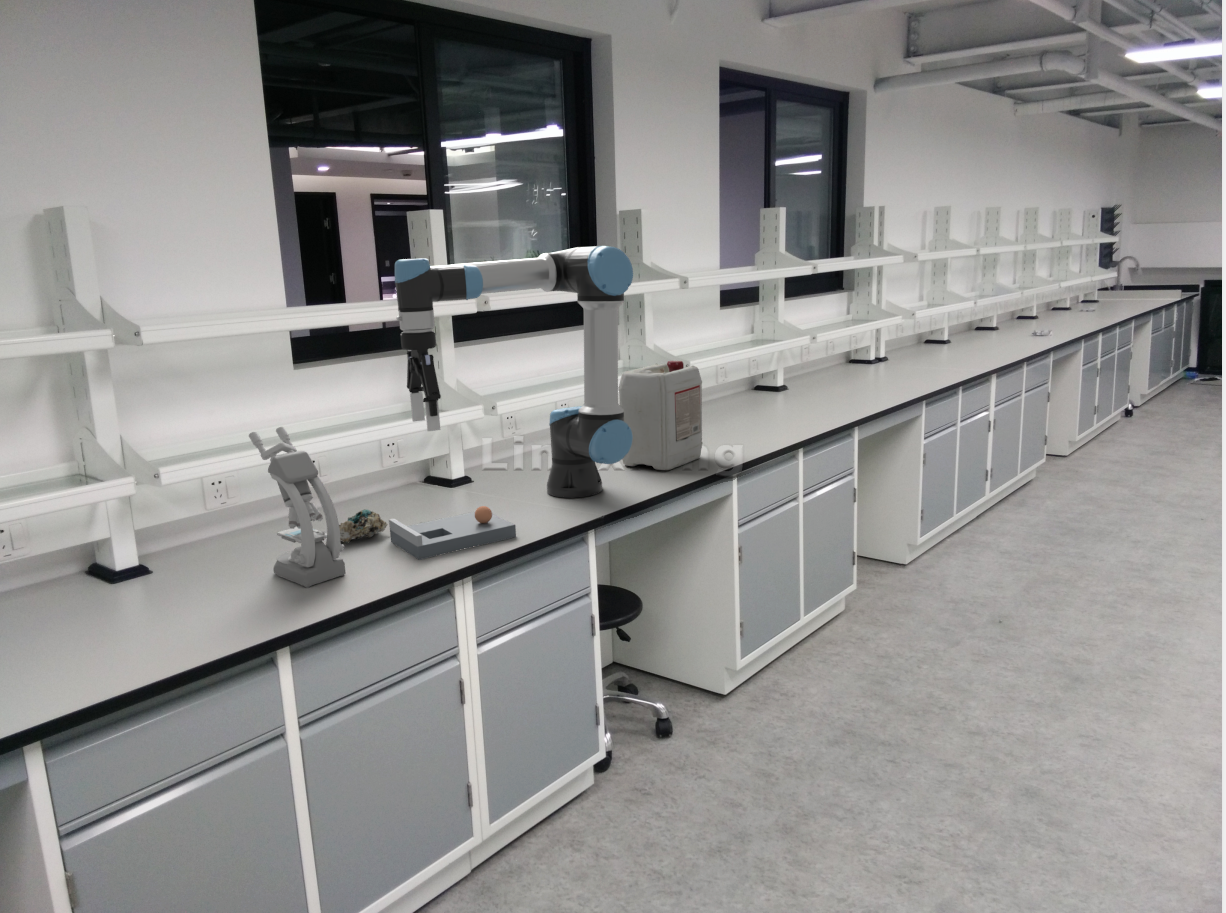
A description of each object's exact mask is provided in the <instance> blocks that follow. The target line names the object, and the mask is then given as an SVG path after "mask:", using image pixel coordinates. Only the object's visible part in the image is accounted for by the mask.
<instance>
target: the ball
mask: <svg viewBox="0 0 1226 913" xmlns="http://www.w3.org/2000/svg"><path fill="white" fill-rule="evenodd" d="M474 512H475V518H476V520H477V521H478V522H480V523H487V522H489V521H490V520H491V518H492V514H493V512H492V510H491V509H490V508H489V507H488V506H486V505H482V506H481V505H480V506H479V507H477V508H476V509H475V511H474Z"/></svg>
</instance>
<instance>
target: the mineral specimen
mask: <svg viewBox="0 0 1226 913" xmlns="http://www.w3.org/2000/svg"><path fill="white" fill-rule="evenodd" d="M388 525H389V524H388V523H387V522H386V521H385V520H383V519H382V518H381V516H380V514H379V513H377V512H375V511H373V510H372V511H371V510H369V509H362V510H360V511H358V512H356V513H355V514H354V515H352V516H349V517H348V518H347V520H345V521H344V522H340V524H339V528H340V540H341V543H342V542H343V543H345V544H349V543H350V542H351V541H353V540H358V539H359V540H360V539H361V538H363V537H364V536H366V538H372V537H373V536H374V535H375V534H378V533H382V532H384V531H385V530H386V529H387V526H388Z"/></svg>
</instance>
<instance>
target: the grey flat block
mask: <svg viewBox="0 0 1226 913" xmlns="http://www.w3.org/2000/svg"><path fill="white" fill-rule="evenodd" d="M388 523H389V524H388V525H389V534H390V536H389V537H390V543H392V544H393V545H395V546H396V547H398V548H399V549H401V550H403V551H404V552H406V553H408V554H409V555H410V556H412V557H413V558H415V559H417V560H418V561H419V560H423V559H424V560H425V559H428V558H433V557H437V556H441V555H440V554H442V555H445V554H444V553H446V554H449V553H448V552H450V553H453V552H452V551H454V552H457V551H456V550H459V551H461V550H460V549H463V550H465V549H464V548H467V549H470V548H469V547H471V548H474V547H473V546H476V547H479V546H478V545H480V546H483V545H482V544H484V545H488V544H492V543H497V542H499V541H500V542H501V541H505V540H509V539H514V538H516V537H517V531H516V529H517V528H516V527H517V526H516V523H513V522H511V521H508V520H507V519H505V518H503V517H500V516H498V515H496V514H494V513H492V518H491V520H490V521H489V522H487V523H480V522H478V521H477V520H476V518H475V511H471V512H467V513H463V514H462V513H461V514H456V515H451V516H446V517H443V518H439V519H433V520H428V521H424V522H419V523H413V524H409V525H406V524H404V523H402V522H401V521H400V520H397V519H396V518H390V519H388ZM513 537H514V538H513ZM496 541H497V542H496ZM487 543H488V544H487ZM436 555H437V556H436Z"/></svg>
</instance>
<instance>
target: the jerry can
mask: <svg viewBox="0 0 1226 913" xmlns="http://www.w3.org/2000/svg"><path fill="white" fill-rule="evenodd" d="M702 389H703V380H702V376H701V373H700V371H699V368H698V367H697V366H695V365H691V366H687V367H684V362H683V361H682V360H668V361H667V363H661V364H660V363H655V364H652V365H648V366H644V367H639V368H635V369H630V370H628V369H627V370H626V371H622V373H621V377H620V381H619V383H618V399H619V405H620V406H621V407H622V409H623V410H624V422H625V423H627V424H628V426H629V427H630V428H631V431H632V435H633V440H632V445H631V448H630V450H629V452H628V453H627V454H626V455H625V456H624V458H623V459H622V460H621V461H622V463H623V465H625V466H628V467H636V466H638V465H646V466H652V467H653V469H655V471H656V470H657V471H670V470H673V469H676V468H677V467H681V466H684V465H685V464H689V463H691V462H693V461H696V460H698V459H700V458H701V456H702V455H701V454H702V449H703V390H702Z"/></svg>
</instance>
